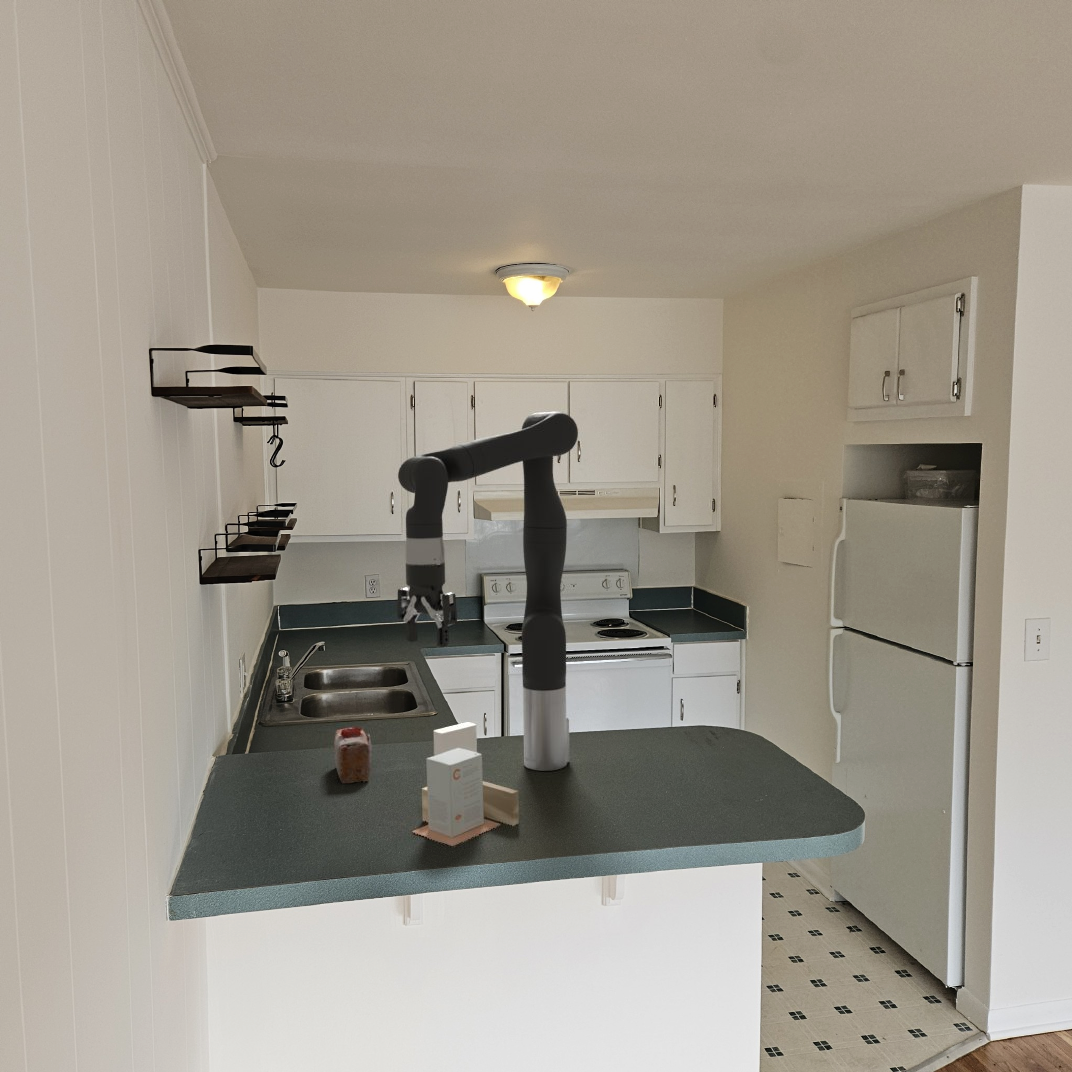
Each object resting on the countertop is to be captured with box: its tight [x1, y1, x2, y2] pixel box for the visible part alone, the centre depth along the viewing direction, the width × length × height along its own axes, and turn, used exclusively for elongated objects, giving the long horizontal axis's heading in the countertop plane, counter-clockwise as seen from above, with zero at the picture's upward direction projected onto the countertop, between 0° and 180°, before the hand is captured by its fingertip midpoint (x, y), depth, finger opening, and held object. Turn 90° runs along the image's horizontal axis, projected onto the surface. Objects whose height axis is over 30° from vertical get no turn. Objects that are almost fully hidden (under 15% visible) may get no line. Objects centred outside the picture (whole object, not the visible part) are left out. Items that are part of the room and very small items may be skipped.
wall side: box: [421, 786, 428, 823], centre depth 172 cm, size 9×2×6 cm, turn 140°
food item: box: [333, 726, 373, 785], centre depth 197 cm, size 14×8×10 cm, turn 17°
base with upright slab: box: [433, 721, 478, 756], centre depth 188 cm, size 9×9×12 cm
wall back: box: [483, 780, 520, 827], centre depth 171 cm, size 2×14×6 cm, turn 50°
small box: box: [425, 748, 485, 838], centre depth 165 cm, size 8×6×13 cm
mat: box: [411, 818, 501, 847], centre depth 165 cm, size 12×10×1 cm
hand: (427, 643), depth 180 cm, fingers open, 8 cm apart
